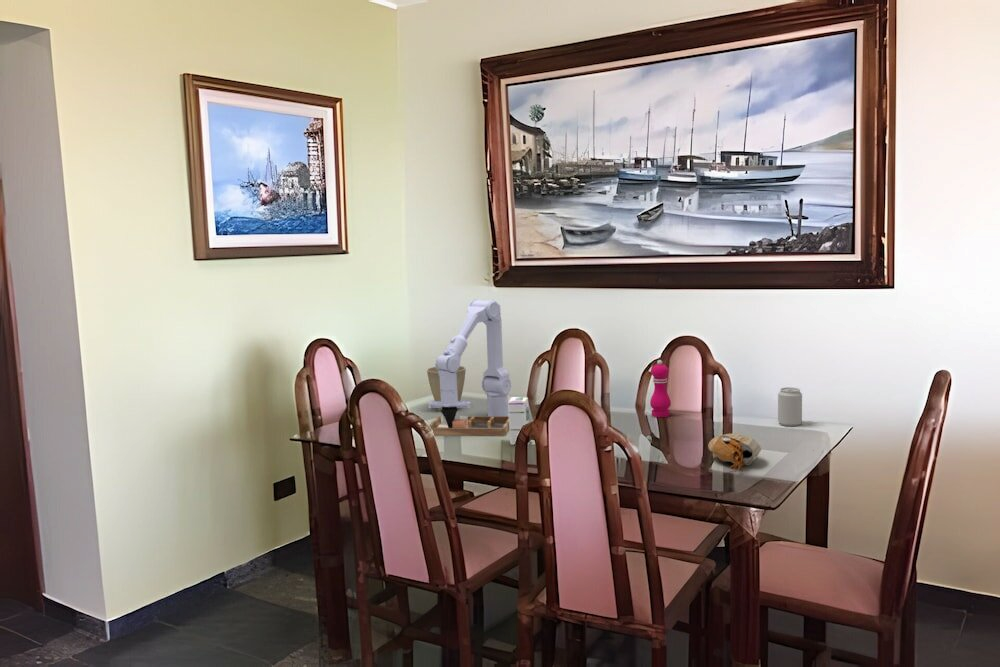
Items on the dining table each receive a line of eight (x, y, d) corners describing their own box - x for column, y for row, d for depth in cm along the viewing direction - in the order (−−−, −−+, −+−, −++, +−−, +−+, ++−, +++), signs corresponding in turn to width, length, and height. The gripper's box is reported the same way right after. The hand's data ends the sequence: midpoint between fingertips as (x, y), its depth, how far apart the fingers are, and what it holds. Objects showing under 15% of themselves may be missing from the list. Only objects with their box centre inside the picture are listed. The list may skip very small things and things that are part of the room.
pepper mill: (671, 417, 282) (670, 361, 279) (650, 418, 283) (649, 362, 281) (670, 412, 289) (669, 358, 286) (650, 413, 290) (649, 358, 288)
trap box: (438, 424, 288) (438, 416, 288) (513, 424, 283) (512, 416, 283) (426, 437, 271) (425, 428, 271) (504, 437, 266) (504, 428, 266)
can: (778, 426, 265) (778, 391, 263) (777, 420, 272) (777, 386, 270) (802, 427, 263) (802, 391, 261) (801, 421, 270) (801, 386, 268)
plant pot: (466, 413, 302) (463, 371, 300) (426, 414, 303) (424, 373, 301) (469, 404, 317) (467, 364, 315) (431, 405, 318) (429, 365, 316)
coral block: (455, 430, 276) (455, 418, 276) (466, 430, 276) (466, 419, 275) (452, 433, 272) (452, 421, 272) (464, 433, 272) (464, 422, 271)
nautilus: (757, 480, 216) (700, 478, 222) (764, 452, 235) (712, 451, 241) (755, 452, 214) (698, 450, 220) (763, 426, 234) (710, 426, 240)
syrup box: (527, 445, 257) (525, 400, 255) (509, 444, 258) (507, 400, 256) (530, 440, 262) (528, 396, 260) (512, 440, 263) (510, 396, 261)
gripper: (424, 392, 270) (427, 431, 272) (467, 392, 267) (468, 431, 269) (430, 387, 277) (432, 426, 279) (471, 387, 274) (473, 426, 276)
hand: (450, 428), depth 275 cm, fingers closed
